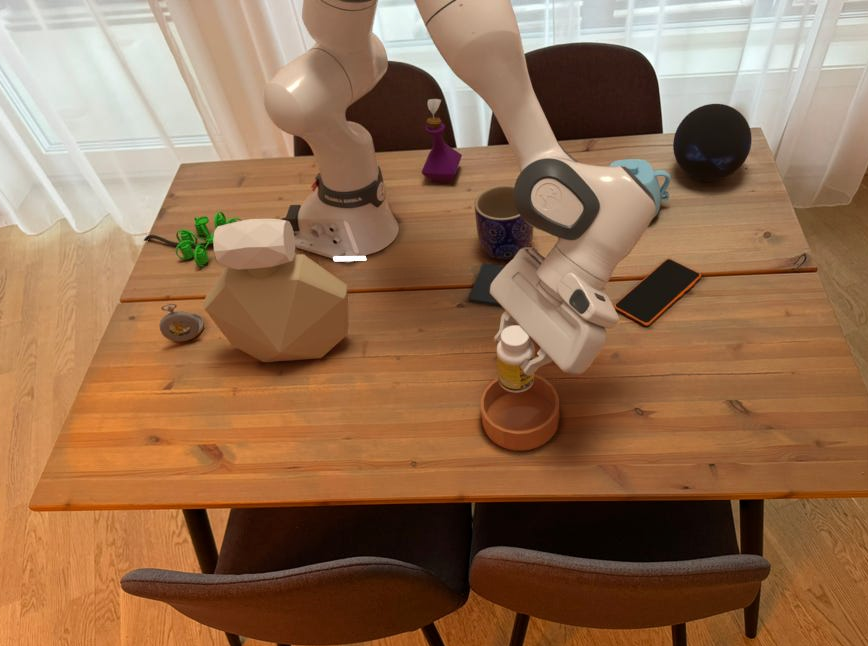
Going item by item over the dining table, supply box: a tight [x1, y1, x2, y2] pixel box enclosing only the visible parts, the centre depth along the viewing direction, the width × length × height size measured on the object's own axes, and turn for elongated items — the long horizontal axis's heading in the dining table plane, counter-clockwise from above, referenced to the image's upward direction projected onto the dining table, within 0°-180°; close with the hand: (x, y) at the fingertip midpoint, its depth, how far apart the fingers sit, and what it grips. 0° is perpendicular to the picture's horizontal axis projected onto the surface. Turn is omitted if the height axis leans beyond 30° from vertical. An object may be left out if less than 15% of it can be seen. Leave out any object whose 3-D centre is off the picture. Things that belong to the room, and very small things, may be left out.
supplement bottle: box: [496, 324, 535, 393], centre depth 108 cm, size 5×5×10 cm
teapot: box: [609, 158, 671, 220], centre depth 147 cm, size 13×11×18 cm
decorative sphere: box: [672, 103, 753, 182], centre depth 151 cm, size 15×15×15 cm
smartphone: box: [613, 258, 702, 327], centre depth 134 cm, size 8×17×1 cm, turn 135°
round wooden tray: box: [480, 373, 560, 452], centre depth 117 cm, size 12×12×4 cm
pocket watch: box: [159, 303, 205, 342], centre depth 135 cm, size 7×8×10 cm
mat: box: [467, 263, 506, 308], centre depth 139 cm, size 10×10×1 cm
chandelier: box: [175, 211, 243, 267], centre depth 153 cm, size 15×15×7 cm
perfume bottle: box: [421, 98, 463, 183], centre depth 158 cm, size 8×8×18 cm
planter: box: [474, 184, 535, 261], centre depth 142 cm, size 11×11×11 cm
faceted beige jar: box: [202, 218, 349, 363], centre depth 123 cm, size 12×24×28 cm, turn 91°
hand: (512, 357), depth 107 cm, fingers closed on supplement bottle, 5 cm apart
